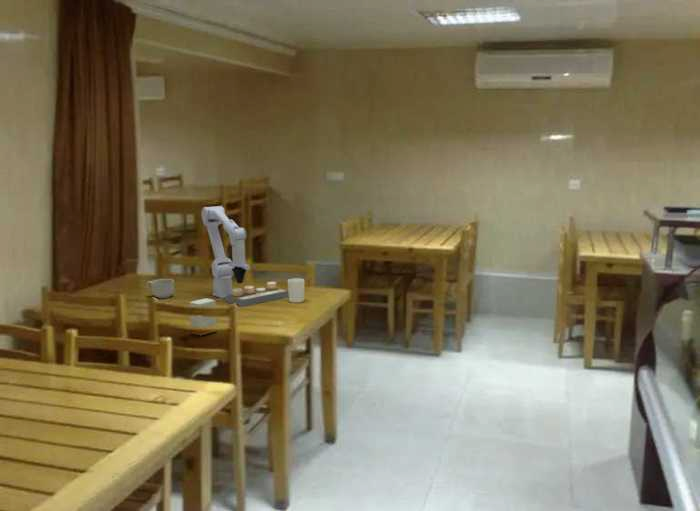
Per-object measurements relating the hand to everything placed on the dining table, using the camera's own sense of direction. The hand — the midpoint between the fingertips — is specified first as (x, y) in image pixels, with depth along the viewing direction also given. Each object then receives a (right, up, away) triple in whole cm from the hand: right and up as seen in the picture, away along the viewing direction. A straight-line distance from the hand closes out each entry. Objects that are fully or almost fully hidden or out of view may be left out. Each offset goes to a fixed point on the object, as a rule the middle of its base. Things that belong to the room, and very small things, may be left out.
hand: (239, 283), depth 309 cm
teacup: (-41, -8, +14) cm, 44 cm away
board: (+7, -8, +5) cm, 12 cm away
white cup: (+26, -9, +1) cm, 28 cm away
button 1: (-1, -7, 0) cm, 7 cm away
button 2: (+4, -6, +4) cm, 8 cm away
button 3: (+9, -7, +9) cm, 14 cm away
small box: (-6, -18, -49) cm, 52 cm away
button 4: (+13, -4, +13) cm, 19 cm away
